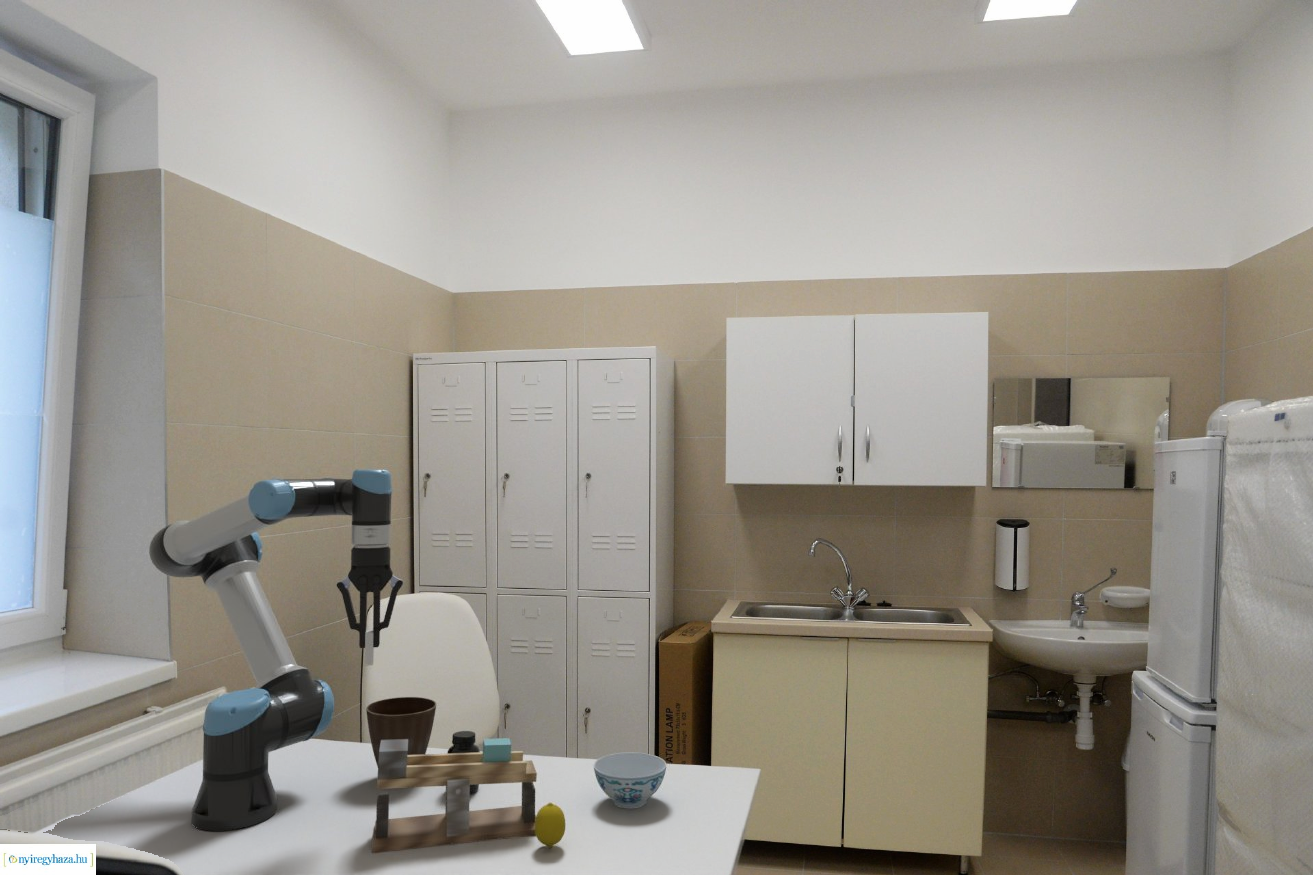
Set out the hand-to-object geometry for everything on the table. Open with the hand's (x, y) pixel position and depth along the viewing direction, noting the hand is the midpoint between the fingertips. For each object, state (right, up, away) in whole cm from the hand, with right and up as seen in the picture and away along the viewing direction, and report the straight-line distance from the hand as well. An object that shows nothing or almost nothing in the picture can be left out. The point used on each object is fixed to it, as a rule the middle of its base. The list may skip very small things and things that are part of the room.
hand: (369, 663), depth 172 cm
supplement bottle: (+16, -30, +11) cm, 36 cm away
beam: (+20, -20, -9) cm, 30 cm away
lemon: (+38, -29, -16) cm, 51 cm away
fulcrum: (+20, -29, -9) cm, 36 cm away
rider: (+27, -18, -7) cm, 33 cm away
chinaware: (+52, -30, +5) cm, 60 cm away
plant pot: (+1, -30, +18) cm, 35 cm away
